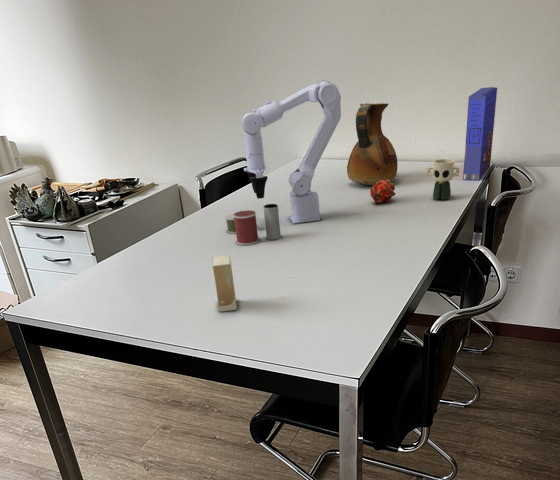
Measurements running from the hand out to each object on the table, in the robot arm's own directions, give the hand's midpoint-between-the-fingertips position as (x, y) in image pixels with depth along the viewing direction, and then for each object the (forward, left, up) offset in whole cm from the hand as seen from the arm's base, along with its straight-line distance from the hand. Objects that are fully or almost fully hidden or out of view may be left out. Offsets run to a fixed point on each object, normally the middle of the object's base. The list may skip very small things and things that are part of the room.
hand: (259, 195), depth 199 cm
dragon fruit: (-45, -6, -10) cm, 47 cm away
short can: (+9, +3, -10) cm, 14 cm away
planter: (-2, +16, -10) cm, 19 cm away
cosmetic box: (+18, +64, -10) cm, 67 cm away
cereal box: (-91, -28, -10) cm, 96 cm away
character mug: (-65, 0, -10) cm, 66 cm away
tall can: (+7, +16, -10) cm, 20 cm away
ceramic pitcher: (-50, -34, -10) cm, 61 cm away
